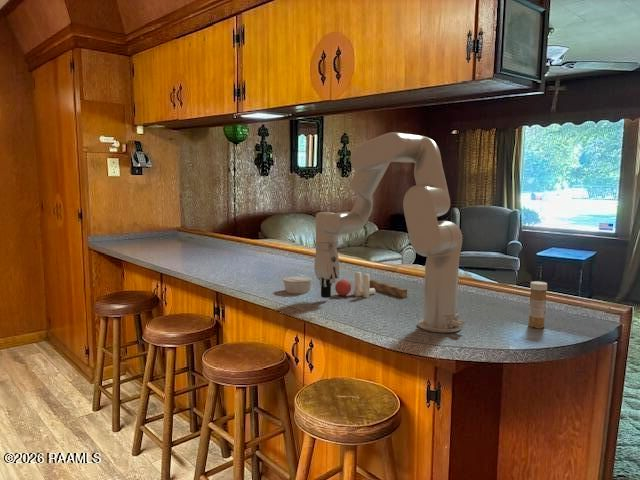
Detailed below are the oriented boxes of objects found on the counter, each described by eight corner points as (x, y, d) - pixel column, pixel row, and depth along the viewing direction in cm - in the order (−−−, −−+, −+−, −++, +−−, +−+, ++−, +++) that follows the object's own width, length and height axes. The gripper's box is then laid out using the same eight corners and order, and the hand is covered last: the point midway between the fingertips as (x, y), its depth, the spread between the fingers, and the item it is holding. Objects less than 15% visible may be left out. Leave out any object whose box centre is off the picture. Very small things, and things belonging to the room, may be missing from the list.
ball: (346, 274, 184) (340, 281, 179) (356, 286, 184) (350, 293, 179) (335, 281, 187) (329, 289, 182) (345, 293, 187) (339, 301, 182)
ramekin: (282, 294, 185) (282, 281, 184) (284, 288, 196) (284, 275, 195) (311, 294, 185) (311, 281, 184) (312, 288, 196) (312, 275, 195)
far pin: (362, 294, 185) (362, 272, 184) (357, 295, 184) (357, 273, 183) (358, 293, 187) (358, 271, 186) (353, 293, 186) (353, 272, 185)
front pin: (357, 297, 181) (375, 294, 186) (357, 291, 181) (375, 288, 185) (353, 296, 183) (371, 293, 188) (353, 289, 183) (371, 287, 187)
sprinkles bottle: (532, 323, 148) (534, 280, 146) (547, 326, 145) (550, 282, 143) (525, 326, 145) (527, 282, 143) (540, 329, 142) (543, 284, 140)
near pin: (370, 297, 181) (370, 274, 180) (365, 297, 180) (365, 275, 179) (366, 295, 183) (366, 273, 182) (361, 296, 182) (361, 274, 181)
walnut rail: (406, 297, 181) (407, 289, 181) (402, 297, 180) (403, 290, 180) (370, 286, 200) (370, 279, 199) (366, 286, 199) (366, 279, 198)
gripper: (346, 248, 168) (346, 300, 171) (323, 243, 181) (323, 291, 183) (328, 250, 164) (328, 302, 167) (306, 245, 177) (306, 294, 179)
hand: (325, 296), depth 175 cm, fingers closed
